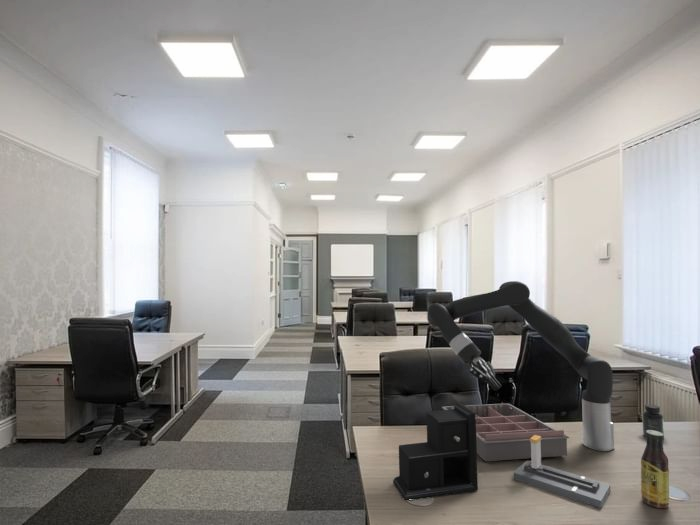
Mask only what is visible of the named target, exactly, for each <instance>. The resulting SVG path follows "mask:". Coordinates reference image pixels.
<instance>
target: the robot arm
mask: <svg viewBox="0 0 700 525" xmlns="http://www.w3.org/2000/svg"><path fill="white" fill-rule="evenodd" d="M530 294H531V291H530V288H529V286H528V285H527V284H525V282H524V283H523V282H521V281H517V280H513V281H506V282H505V281H504V282H503V283H502V284H501V285H500V286H499V288H498V289H497V290H494V291H490V292H486V293H482V294H475V295H470V296H466V297H462V298H459V299H456V300H453V301H451V302H450V303H449V304H448V305H447V306H444V305H443V304H441V303H438V302H434V303H431V304H430V305H429V306H428V308H427V316H426V318H427V322H428V324H429V325H431V326H433V327H436V328H439V331H440V334H441V336H442V338H443V339H444V340H445V341H446V342H447V344H448V345H449V346H450V348H451V350H452V351H453V352H454V353H455V355H456V356H457V357H458V358H459V360H460V361H461V362H462V364H464V365H465V366H467V365H469V366H468V367H470V369H469V370H468V372H469V373H470V374H471V375H473V376H474V377H475V378H477V379H478V380H480V381H481V382H485V383H487V384H488V385H489V386H490V388H491V389H492V390H493V391H498V390H499V389H500V388H501V387H502V384H501V383H500V382H499V380H497V378H496V375H497V374H496V372H495V369H494V367H493V365H492V363H491V361H489V360H488V361H485V360H484V359H483V358H482V357H481V354H482V351H481V350H480V349H479V348H478V346H477V345H476V344H475V343H474V342H473V340H471V338H469V336H468V334H466V333H465V332H464V331H463V330H462V329H461V328H460V327H459V326H458V325H457V323H456V322H455V321H456V320H458V319H461V318H465V317H468V316H472V315H476V314H478V313H482V312H486V311H489V310H492V309H495V308H496V309H497V308H501V307H507V306H508V307H510V308H511V309H512V310H513V311H514V312H516V313H517V314H518V315H519V316H521V317H522V318H523V320H524V321H525V322H527V323H528V325H529V326H530V327H531V328H532V329H533V330H534V331H535V332H536V333H537V334H538V335H539V336H540V337H541V338H542V339H543V340H544V341H545V342H546V343H547V344H548V345H550V346H551V347H552V348H553V349H554V350H555V351H556V352H558V353H559V354H560V355H561V356H563V358H565V360H567V361H568V363H569V364H570V365H571V367H573V368H574V370H575V371H576V372H577V373H578V374H579V376H581V377H582V378H583V379H585V380H587V381H586V382H587V384H586V385H587V386H586V389H584V390H582V392H581V406H582V408H581V409H582V410H581V411H582V415H581V416H582V444H583V445H584V446H585V447H587V448H589V449H592V450H595V451H600V452H601V451H602V452H609V451H611V450H615V424H614V422H612V417H611V416H612V413H611V397H612V394H613V387H614V386H613V384H614V383H613V382H614V380H613V377H614V375H613V370H612V366H611V364H610V363H608V362H607V361H606V360H604V359H601V358H599V357H595V356H593V355H591V354H589V353H588V352H587V351H586V350H585V349H584V348H582V347H581V346H580V345H579V344H578V343H577V341H576V339H575V337H574V336H573V334H572V332H571V331H570V329H568V327H567V326H566V325H565V324H564V323H563V322H562V321H561V320H560V319H559V318H557V317H556V316H554V314H552V313H550V312H549V311H547V310H546V309H544V308H542V307H541V306H540V305H537V304H536V303H535V302H534V301H533V300H532V299H531V298H530Z"/></svg>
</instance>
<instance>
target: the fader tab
mask: <svg viewBox="0 0 700 525" xmlns="http://www.w3.org/2000/svg"><path fill="white" fill-rule="evenodd" d="M540 440H541V436H538V435H534V436H533V437H531V438H530V442H531V458H530V459H531V460H530V461H531V464H530V467H531V468H534V469H537V470H541V471H543V467H540V466H541V464H542V457H541V441H540Z"/></svg>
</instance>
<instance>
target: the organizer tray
mask: <svg viewBox="0 0 700 525" xmlns="http://www.w3.org/2000/svg"><path fill="white" fill-rule="evenodd" d="M465 406H466V407H468V408H469V409H471V410H473V411H474V412H475V414H476V417H475V419H476V443H477V456H479V457H480V458H482V459H483V460H484V461H485V462H493V461H495V462H496V461H508V460H521V459H531V442H530V438H531V437H533V436H534V435H538V436H541V440H540V441H541V458H550V457H567V456H568V441H567V440H568V439H570V437H569V436H568V435H566V434H565V431H564V429H556V428H554V427H552V426H550V425H548V424H547V423H544V421H541V420H539V419H537V418H536V417H534V416H532V415H530V414H529V413H527V412H525V411H523V410H522V409H520V408H518V407H516V406H515V405H512V404H511V403H492V404H490V403H489V404H474V405H473V404H470V405H468V404H467V405H465ZM441 408H442V410H451V409H454V405H450V406H441Z"/></svg>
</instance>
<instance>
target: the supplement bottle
mask: <svg viewBox="0 0 700 525" xmlns="http://www.w3.org/2000/svg"><path fill="white" fill-rule="evenodd" d="M641 415H642V416H641V418H642V420H641V421H642V434H643V436H645V437H646V431H647V430H654V431H658V432H661V433H662V434H663V435H664V436H665V428H664V427H665V424H664V415H663V414H662V413H661V407H660V406H658V405H655V404H644V411H643V412H642V414H641Z"/></svg>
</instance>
